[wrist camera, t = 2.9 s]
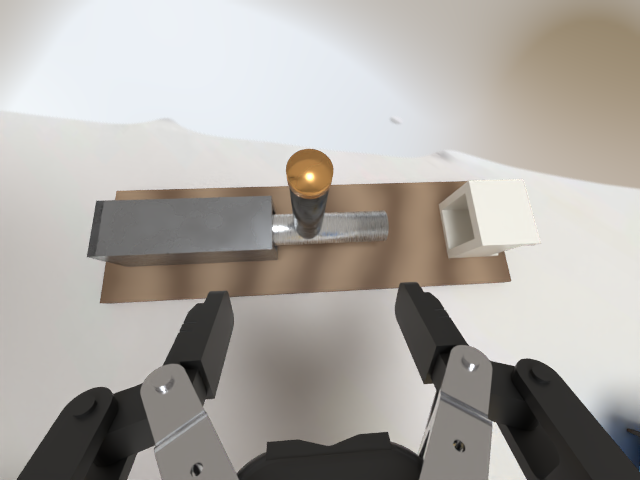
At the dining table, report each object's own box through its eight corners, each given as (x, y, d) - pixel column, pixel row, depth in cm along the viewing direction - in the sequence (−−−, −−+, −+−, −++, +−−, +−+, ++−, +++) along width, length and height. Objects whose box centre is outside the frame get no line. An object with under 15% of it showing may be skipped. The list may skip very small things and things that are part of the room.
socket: (448, 258, 27) (482, 245, 22) (438, 204, 28) (468, 180, 23) (495, 256, 27) (541, 243, 22) (483, 202, 29) (523, 179, 23)
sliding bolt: (143, 254, 24) (-2, 203, 13) (147, 224, 25) (12, 151, 14) (381, 244, 26) (442, 190, 14) (378, 216, 26) (433, 144, 15)
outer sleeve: (127, 267, 25) (86, 256, 20) (133, 220, 26) (96, 200, 22) (278, 260, 26) (272, 249, 21) (277, 215, 27) (271, 195, 22)
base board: (107, 303, 25) (99, 303, 24) (123, 195, 28) (116, 191, 27) (504, 282, 28) (511, 281, 27) (481, 184, 30) (487, 180, 29)
